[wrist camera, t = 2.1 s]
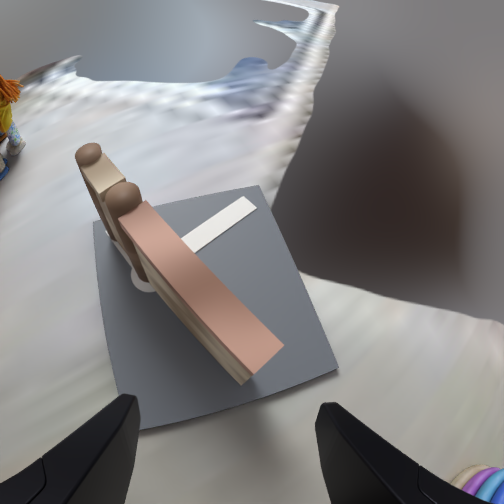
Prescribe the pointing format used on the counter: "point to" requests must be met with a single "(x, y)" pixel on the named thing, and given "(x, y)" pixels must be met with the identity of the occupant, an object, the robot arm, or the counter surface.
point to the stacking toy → (482, 483)
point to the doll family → (9, 121)
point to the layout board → (177, 334)
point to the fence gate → (190, 286)
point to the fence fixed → (99, 182)
